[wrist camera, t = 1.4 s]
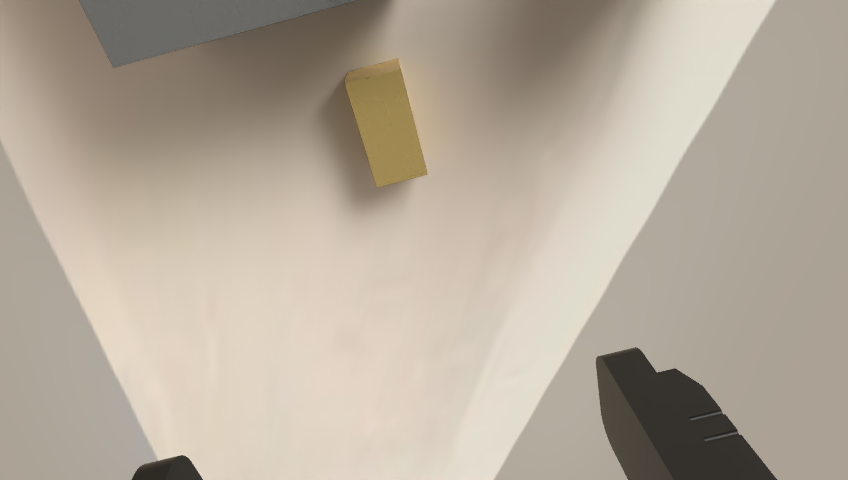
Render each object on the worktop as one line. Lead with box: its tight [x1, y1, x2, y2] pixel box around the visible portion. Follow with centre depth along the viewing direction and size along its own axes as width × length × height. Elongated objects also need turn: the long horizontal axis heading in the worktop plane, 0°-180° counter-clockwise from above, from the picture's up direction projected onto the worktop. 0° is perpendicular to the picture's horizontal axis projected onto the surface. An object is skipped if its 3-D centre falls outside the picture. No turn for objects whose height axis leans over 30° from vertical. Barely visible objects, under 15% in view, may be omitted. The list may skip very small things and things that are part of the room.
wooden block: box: [345, 59, 427, 187], centre depth 30 cm, size 3×6×4 cm, turn 14°
